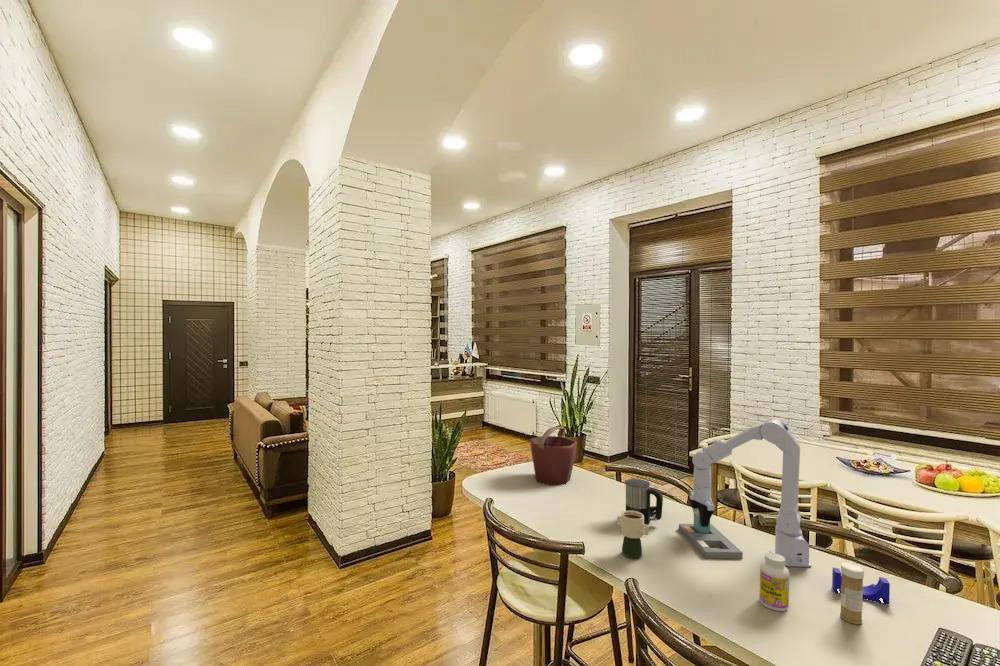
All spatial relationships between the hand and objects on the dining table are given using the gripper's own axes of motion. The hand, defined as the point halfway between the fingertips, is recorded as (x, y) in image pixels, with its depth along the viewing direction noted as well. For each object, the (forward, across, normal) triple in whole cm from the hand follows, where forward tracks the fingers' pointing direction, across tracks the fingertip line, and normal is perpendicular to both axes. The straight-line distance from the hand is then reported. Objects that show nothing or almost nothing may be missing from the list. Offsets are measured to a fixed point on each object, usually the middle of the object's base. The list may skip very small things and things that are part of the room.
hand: (701, 523), depth 161 cm
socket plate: (+4, +6, 0) cm, 7 cm away
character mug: (+5, +14, -29) cm, 33 cm away
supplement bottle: (+5, +40, +1) cm, 41 cm away
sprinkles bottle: (+5, +46, +17) cm, 50 cm away
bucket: (+5, -58, -45) cm, 74 cm away
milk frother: (+5, -14, -16) cm, 22 cm away
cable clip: (+5, +35, +28) cm, 45 cm away
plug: (+3, 0, 0) cm, 3 cm away
